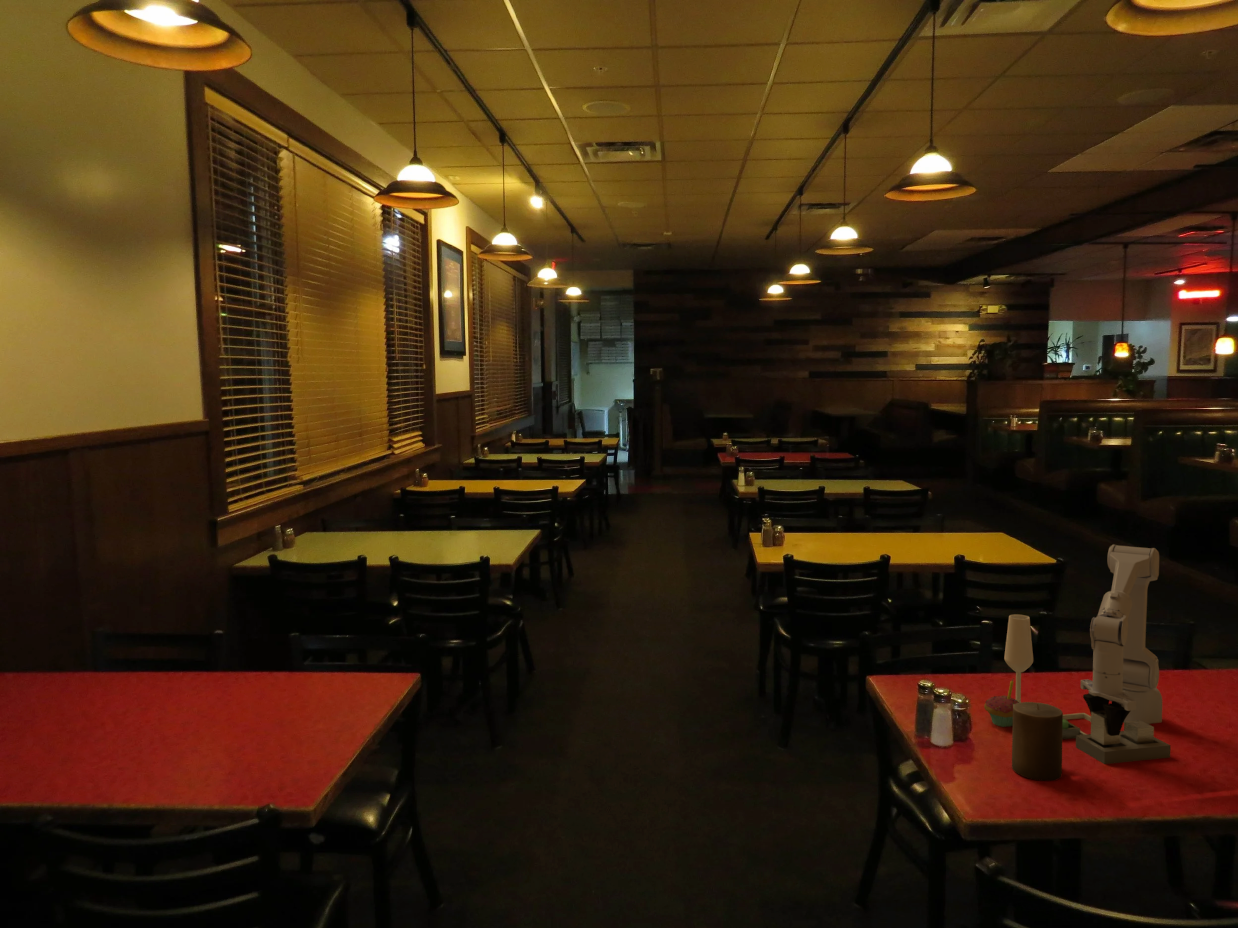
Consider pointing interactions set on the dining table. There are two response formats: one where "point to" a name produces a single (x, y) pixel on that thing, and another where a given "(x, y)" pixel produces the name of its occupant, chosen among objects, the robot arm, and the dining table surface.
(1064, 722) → the button
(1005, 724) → the cupcake
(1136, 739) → the seated billet
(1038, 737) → the pillar candle
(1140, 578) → the robot arm
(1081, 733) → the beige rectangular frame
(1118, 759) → the grey holding fixture
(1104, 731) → the block
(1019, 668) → the champagne flute
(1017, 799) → the dining table surface
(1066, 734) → the switch box
